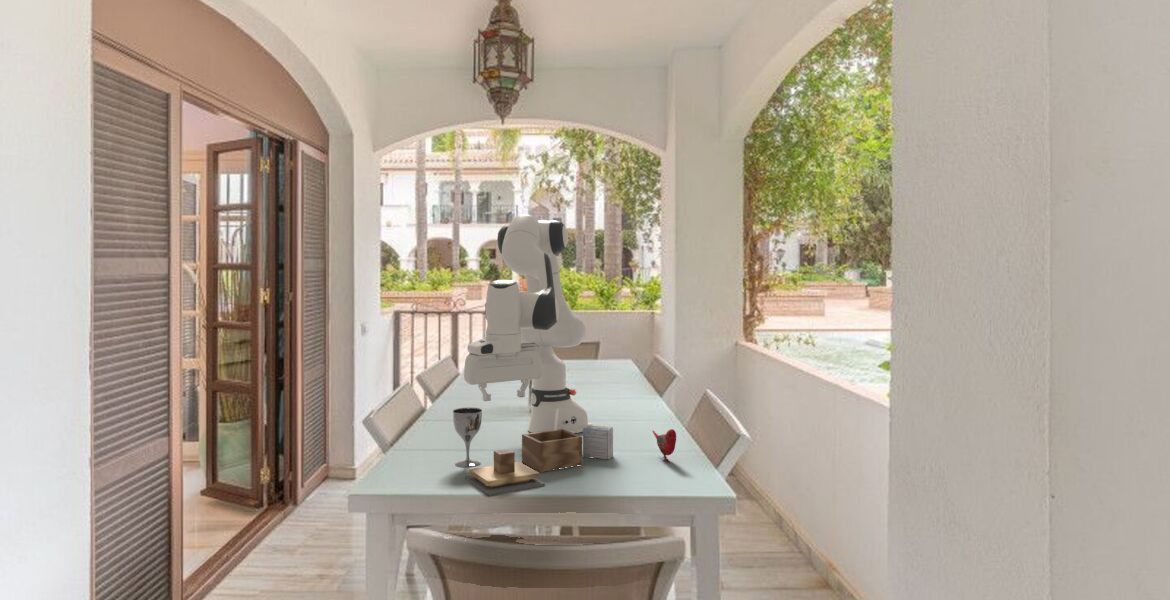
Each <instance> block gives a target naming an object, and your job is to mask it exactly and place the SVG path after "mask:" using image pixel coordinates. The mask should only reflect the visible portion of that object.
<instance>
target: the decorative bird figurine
mask: <svg viewBox="0 0 1170 600" xmlns="http://www.w3.org/2000/svg"><path fill="white" fill-rule="evenodd" d="M652 433H653V435H654V437H655V439H656V444H657V447H658V449H659V451H660V453H661V454H662V455H663V457H662V458H663V459H664V461H666V462H667V461H668V463H670V462H671V461H670V460H669V459H668V457H667V456H671V455H672V454H673V453H674V451H675V449H676V444H677V443H676V442H677V432H676V431H675V429H674V428H672V429H668V430H667V431H666V432H665V433H664V434H660V435H659V434H657V432H656V431H655V430H652Z"/></svg>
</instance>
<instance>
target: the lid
mask: <svg viewBox="0 0 1170 600" xmlns="http://www.w3.org/2000/svg"><path fill="white" fill-rule="evenodd" d="M515 457H516V456H515V451H513V450H511V449H510V448H506V449H505V448H504V449H499V450H498V449H497V450H493V465H488V466H480V467H473V468H469V475H472V476H474V477H475V478H477V479H478V480H479V481H481V482H482V483H484V484H485V485H487V486H491V487H496V486H502V485H508V484H514V483H520V482H526V481H530V479H534V478H536V479H538V478H540V473H539V472H538V471H536V470H534V469H532V468H530V467H529V466H527V465H525V464H523V463H522V461H515Z"/></svg>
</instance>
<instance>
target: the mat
mask: <svg viewBox="0 0 1170 600" xmlns="http://www.w3.org/2000/svg"><path fill="white" fill-rule="evenodd" d="M464 479H466V480H467V481H468V482H470V483H471V484H472V485H474V486H475V487H476V488H477V489H479V490H481V491H482V492H484V493H485V494H486V495H488V496H493V495H499V494H506V493H511V492H517V491H523V490H528V488H529V489H534V488H533V487H535V488H539V487H538V486H540V487H544V485H545V482H543V481H541V480H539V479H538V478H534V479H530V481H526V482H520V483H514V484H508V485H502V486H496V487H491V486H487V485H485V484H484V483H482V482H481V481H479V480H478V479H477V478H475V477H474V476H472V475H471V474H467V475H464ZM545 486H546V485H545Z"/></svg>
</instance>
